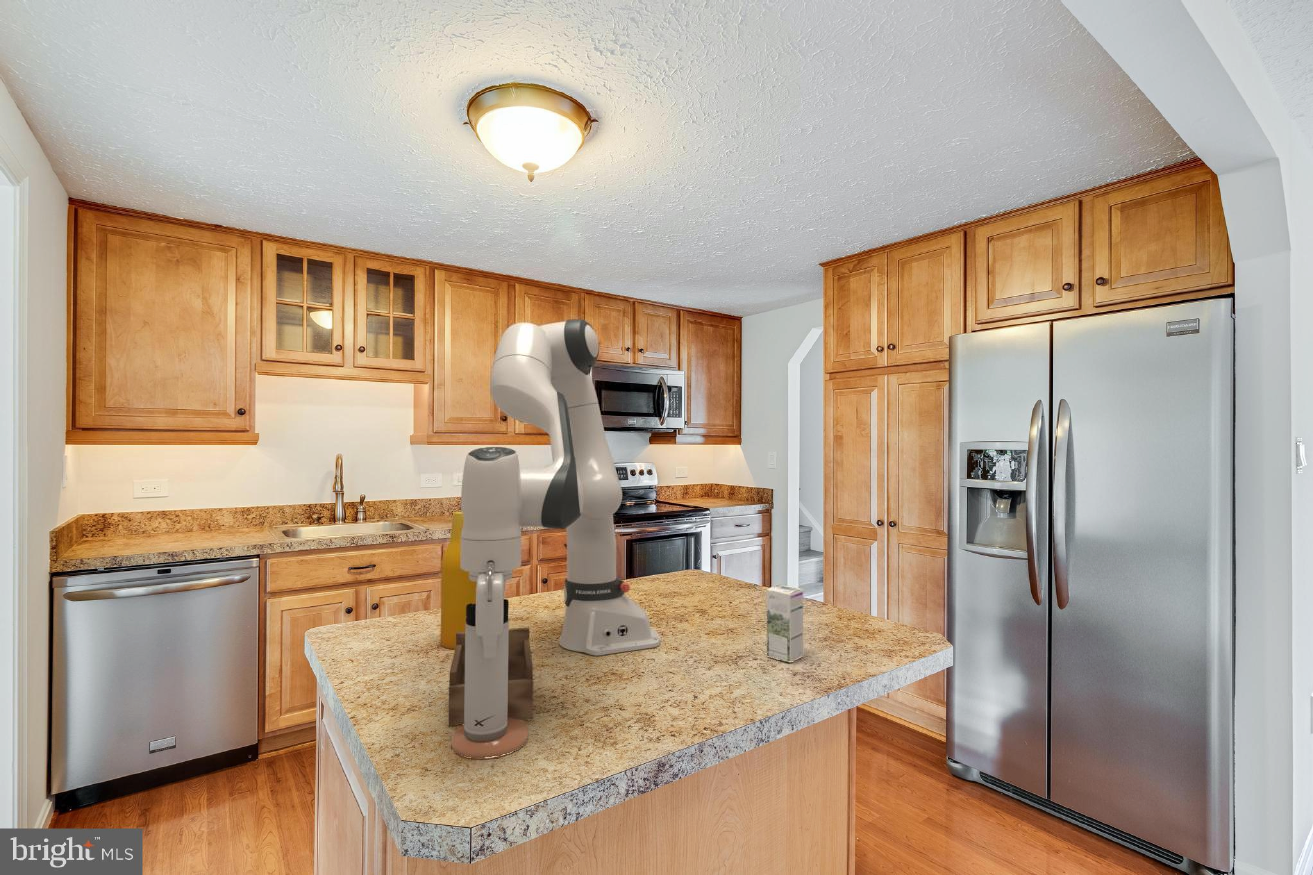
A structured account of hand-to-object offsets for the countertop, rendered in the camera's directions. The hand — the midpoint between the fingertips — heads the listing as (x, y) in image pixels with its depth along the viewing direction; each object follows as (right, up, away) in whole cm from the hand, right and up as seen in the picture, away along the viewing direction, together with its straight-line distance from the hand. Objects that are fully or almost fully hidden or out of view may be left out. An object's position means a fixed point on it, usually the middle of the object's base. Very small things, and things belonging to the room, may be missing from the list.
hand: (490, 647), depth 93 cm
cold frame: (-3, -14, +14) cm, 20 cm away
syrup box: (+52, -15, +37) cm, 65 cm away
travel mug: (0, -13, 0) cm, 13 cm away
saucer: (0, -14, 0) cm, 14 cm away
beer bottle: (-18, -14, +45) cm, 51 cm away
